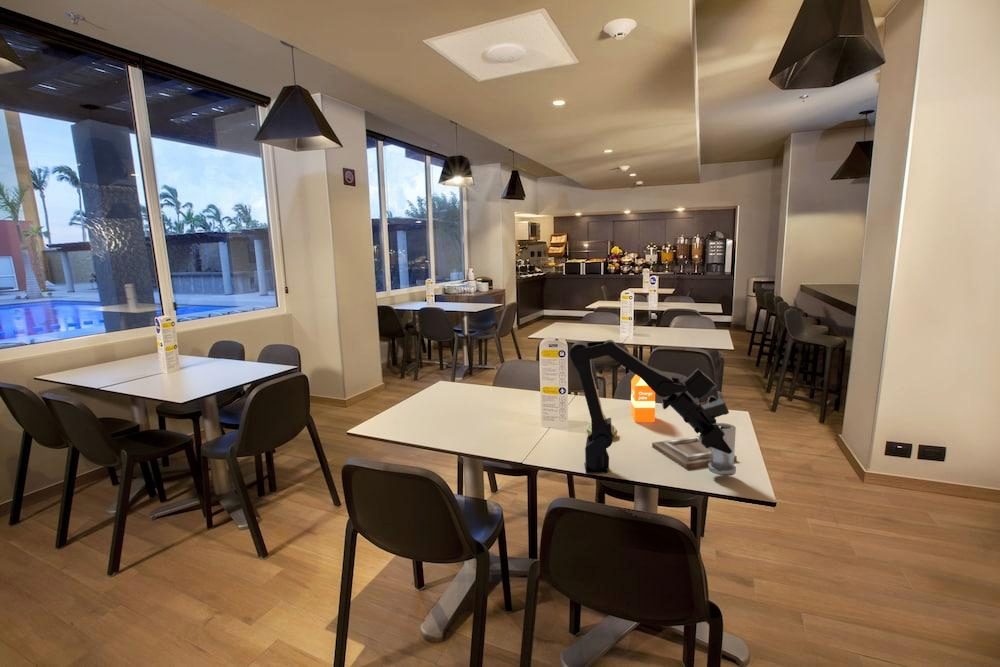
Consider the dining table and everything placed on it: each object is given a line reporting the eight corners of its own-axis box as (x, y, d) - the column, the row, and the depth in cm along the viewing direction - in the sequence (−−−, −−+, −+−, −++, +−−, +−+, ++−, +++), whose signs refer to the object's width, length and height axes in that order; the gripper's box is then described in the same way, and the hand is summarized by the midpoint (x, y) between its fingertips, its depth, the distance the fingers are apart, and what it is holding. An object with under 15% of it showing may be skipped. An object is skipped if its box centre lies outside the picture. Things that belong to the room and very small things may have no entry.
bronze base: (685, 469, 143) (686, 461, 143) (652, 447, 160) (652, 439, 160) (736, 460, 147) (736, 453, 147) (698, 440, 165) (698, 433, 164)
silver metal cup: (713, 475, 133) (715, 430, 131) (704, 464, 140) (706, 421, 138) (739, 475, 133) (742, 430, 131) (730, 464, 140) (732, 422, 138)
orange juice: (650, 415, 192) (651, 366, 189) (655, 422, 183) (656, 371, 180) (630, 415, 193) (630, 366, 190) (634, 422, 184) (634, 372, 181)
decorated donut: (606, 444, 165) (606, 433, 164) (580, 436, 172) (580, 426, 172) (622, 435, 172) (622, 425, 171) (597, 428, 180) (597, 418, 179)
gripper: (717, 400, 125) (761, 442, 124) (704, 381, 143) (742, 419, 142) (684, 427, 128) (727, 469, 127) (675, 406, 146) (712, 442, 145)
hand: (728, 448), depth 135 cm, fingers closed on silver metal cup, 6 cm apart
